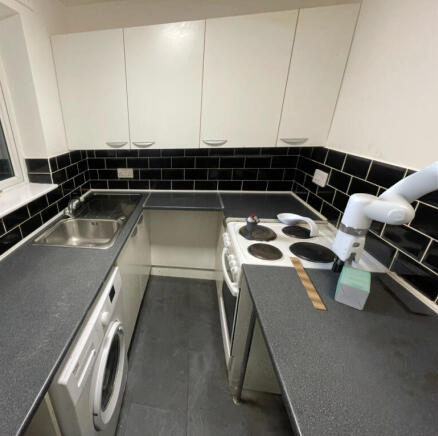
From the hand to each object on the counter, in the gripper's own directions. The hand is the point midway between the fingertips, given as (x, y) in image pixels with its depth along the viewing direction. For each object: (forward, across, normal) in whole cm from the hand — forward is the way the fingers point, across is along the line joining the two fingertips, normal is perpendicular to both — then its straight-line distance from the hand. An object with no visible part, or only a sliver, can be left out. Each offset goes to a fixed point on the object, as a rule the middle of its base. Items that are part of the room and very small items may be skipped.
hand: (336, 271), depth 88 cm
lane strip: (+2, -5, +12) cm, 13 cm away
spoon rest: (+2, +43, +2) cm, 43 cm away
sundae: (+2, +24, +28) cm, 37 cm away
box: (+2, -10, 0) cm, 11 cm away
